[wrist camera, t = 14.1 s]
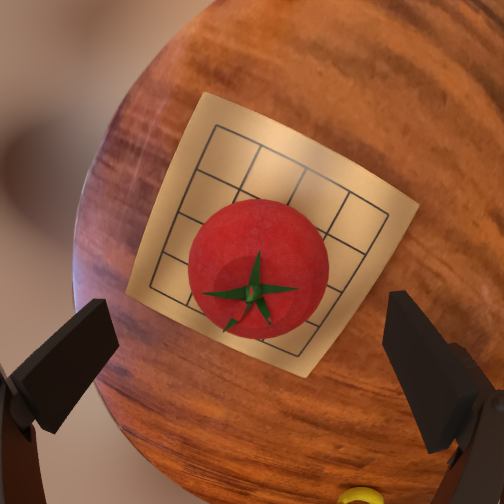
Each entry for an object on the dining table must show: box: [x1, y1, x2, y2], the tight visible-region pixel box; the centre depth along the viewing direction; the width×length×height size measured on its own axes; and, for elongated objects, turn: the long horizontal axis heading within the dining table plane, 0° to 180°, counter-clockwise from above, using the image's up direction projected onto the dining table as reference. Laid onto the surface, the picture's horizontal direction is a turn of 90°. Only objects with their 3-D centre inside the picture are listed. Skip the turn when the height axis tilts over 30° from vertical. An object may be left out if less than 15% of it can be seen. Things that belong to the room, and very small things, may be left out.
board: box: [125, 91, 420, 378], centre depth 23 cm, size 18×18×1 cm
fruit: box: [338, 487, 384, 504], centre depth 31 cm, size 10×2×5 cm, turn 63°
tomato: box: [188, 199, 329, 339], centre depth 18 cm, size 9×9×8 cm
